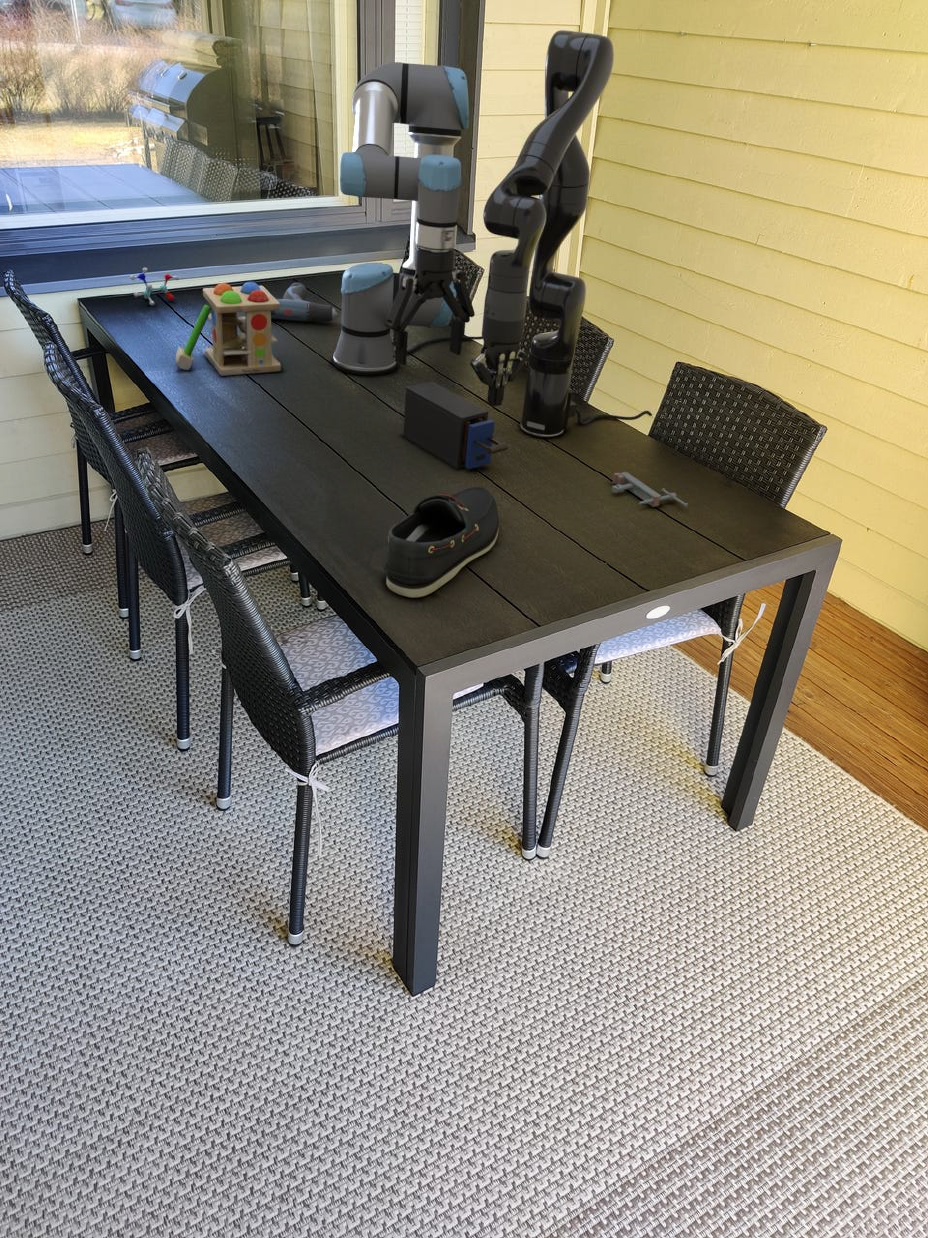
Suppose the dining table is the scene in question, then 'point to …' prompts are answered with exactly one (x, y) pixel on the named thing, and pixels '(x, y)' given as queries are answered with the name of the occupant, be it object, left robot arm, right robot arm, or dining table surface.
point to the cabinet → (438, 420)
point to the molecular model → (150, 289)
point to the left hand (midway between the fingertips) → (428, 357)
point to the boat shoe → (440, 540)
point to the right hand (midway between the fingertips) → (494, 404)
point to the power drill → (301, 307)
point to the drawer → (479, 443)
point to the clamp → (623, 484)
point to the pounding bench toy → (229, 347)
